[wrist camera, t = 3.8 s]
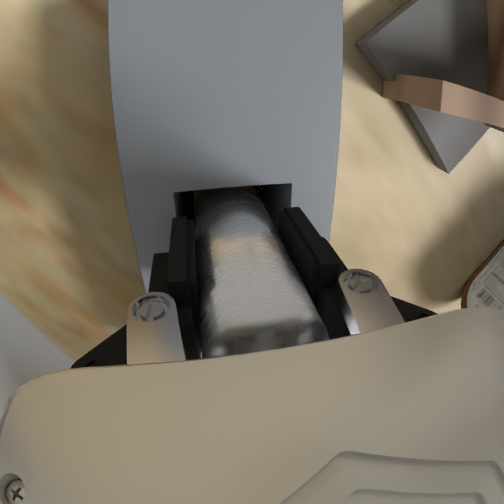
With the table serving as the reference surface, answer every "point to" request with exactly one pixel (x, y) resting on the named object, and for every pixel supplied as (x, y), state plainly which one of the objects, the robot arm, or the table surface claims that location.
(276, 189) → the beam
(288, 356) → the robot arm
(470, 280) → the tin
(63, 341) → the table surface
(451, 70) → the v block
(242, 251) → the axle
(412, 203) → the table surface
